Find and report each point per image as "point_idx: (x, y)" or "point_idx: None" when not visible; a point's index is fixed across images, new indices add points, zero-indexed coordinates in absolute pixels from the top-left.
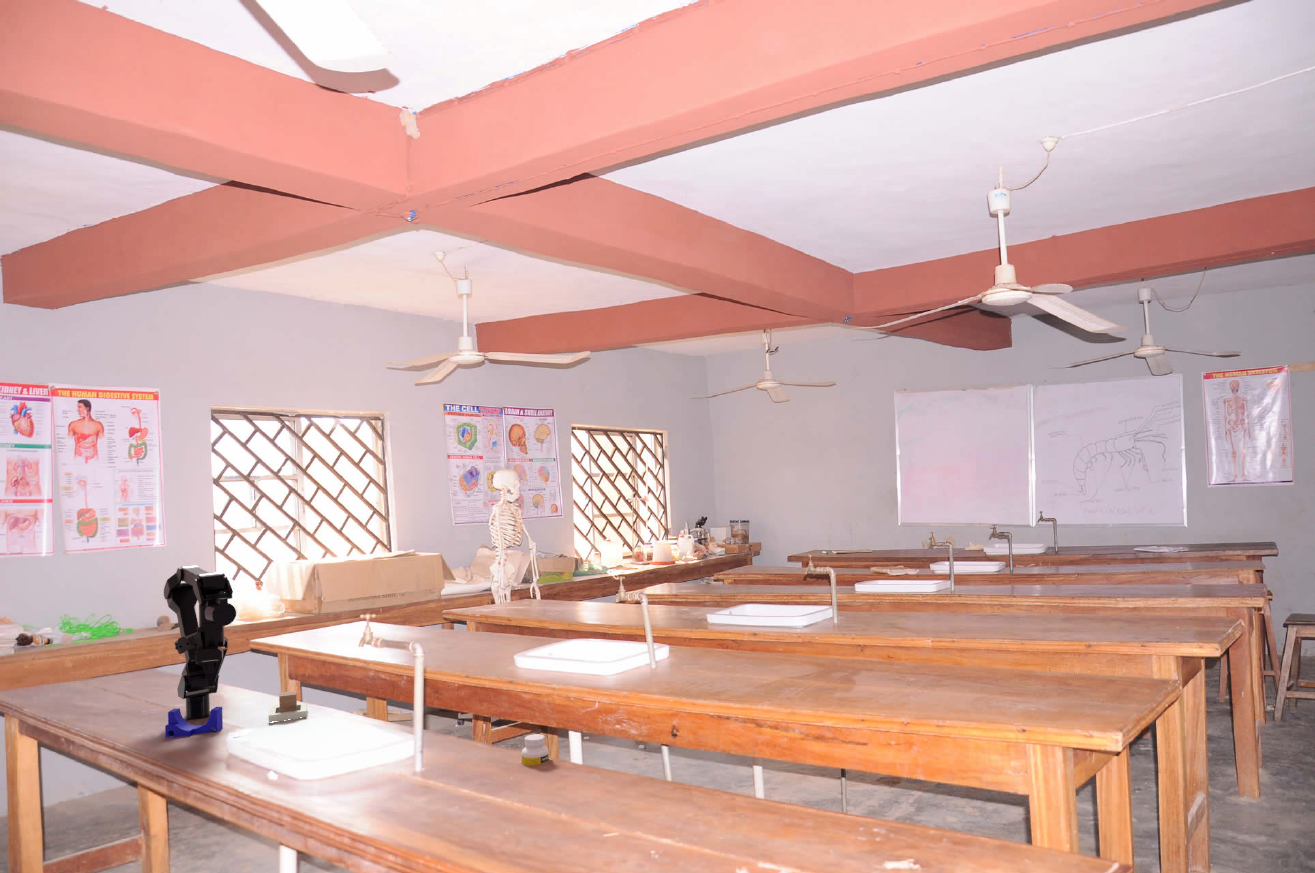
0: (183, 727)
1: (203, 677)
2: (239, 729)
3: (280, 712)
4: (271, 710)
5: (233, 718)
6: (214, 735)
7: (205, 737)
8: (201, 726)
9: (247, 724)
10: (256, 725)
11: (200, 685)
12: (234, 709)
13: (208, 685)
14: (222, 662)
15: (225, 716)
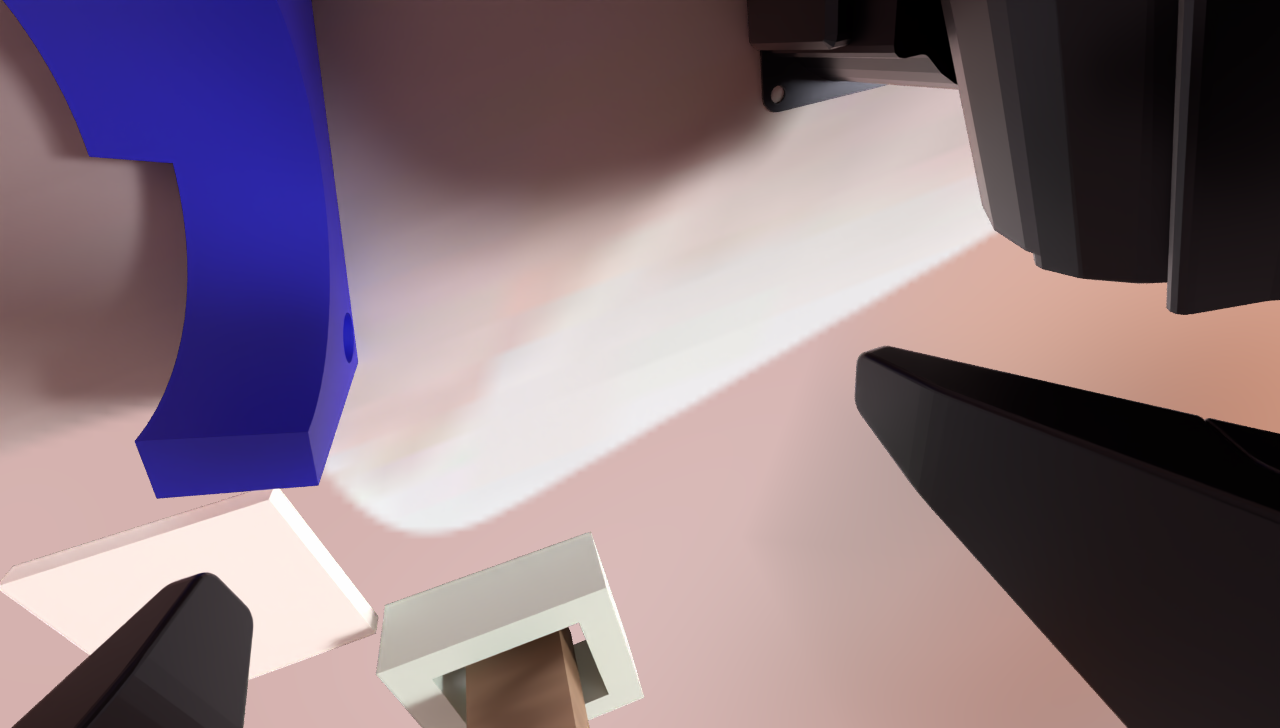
0: (113, 53)
1: (1085, 109)
2: (252, 525)
3: (468, 678)
4: (510, 630)
5: (658, 320)
6: (166, 370)
7: (88, 321)
8: (189, 259)
9: (475, 469)
10: (441, 527)
11: (957, 51)
12: (895, 236)
13: (163, 589)
14: (1091, 683)
15: (734, 240)
